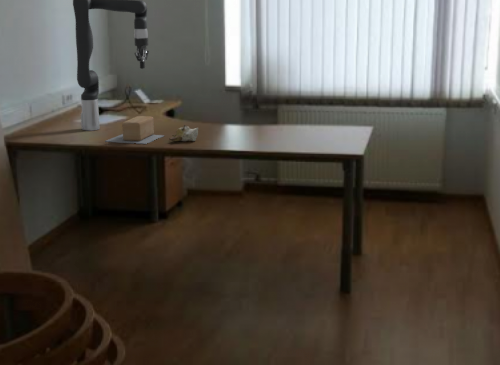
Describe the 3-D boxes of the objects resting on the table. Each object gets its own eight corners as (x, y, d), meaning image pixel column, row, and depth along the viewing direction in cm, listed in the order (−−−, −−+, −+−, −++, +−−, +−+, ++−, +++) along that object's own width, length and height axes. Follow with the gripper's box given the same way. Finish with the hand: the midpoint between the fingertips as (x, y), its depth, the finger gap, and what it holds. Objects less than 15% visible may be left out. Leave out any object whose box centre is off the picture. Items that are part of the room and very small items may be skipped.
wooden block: (154, 134, 428) (140, 141, 409) (137, 133, 430) (122, 140, 412) (153, 116, 425) (139, 122, 407) (136, 115, 428) (121, 122, 409)
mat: (104, 141, 412) (104, 140, 412) (124, 133, 432) (124, 133, 432) (146, 144, 405) (145, 143, 405) (164, 136, 425) (164, 135, 425)
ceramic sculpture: (196, 126, 404) (167, 128, 405) (197, 142, 406) (169, 144, 407) (199, 122, 414) (171, 124, 416) (200, 138, 416) (173, 140, 418)
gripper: (140, 36, 441) (142, 66, 445) (129, 37, 429) (130, 69, 433) (152, 36, 438) (153, 67, 443) (141, 38, 426) (142, 70, 431)
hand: (142, 68), depth 438 cm, fingers closed
